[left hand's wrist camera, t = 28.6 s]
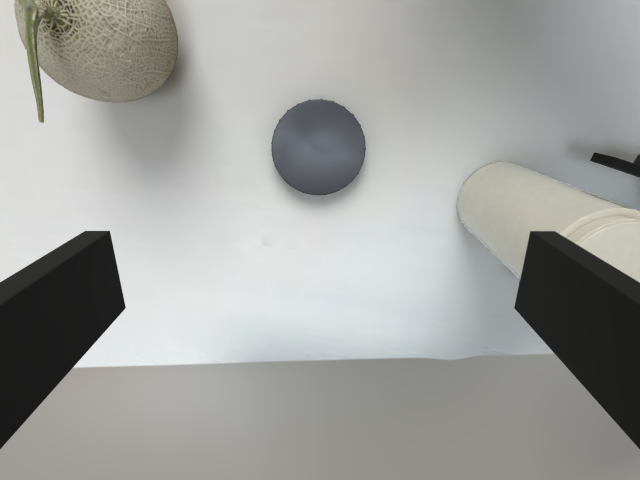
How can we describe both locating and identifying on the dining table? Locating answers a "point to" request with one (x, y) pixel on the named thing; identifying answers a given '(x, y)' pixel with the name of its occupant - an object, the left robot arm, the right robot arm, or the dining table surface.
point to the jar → (545, 216)
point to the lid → (318, 147)
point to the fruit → (98, 46)
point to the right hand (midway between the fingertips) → (562, 228)
